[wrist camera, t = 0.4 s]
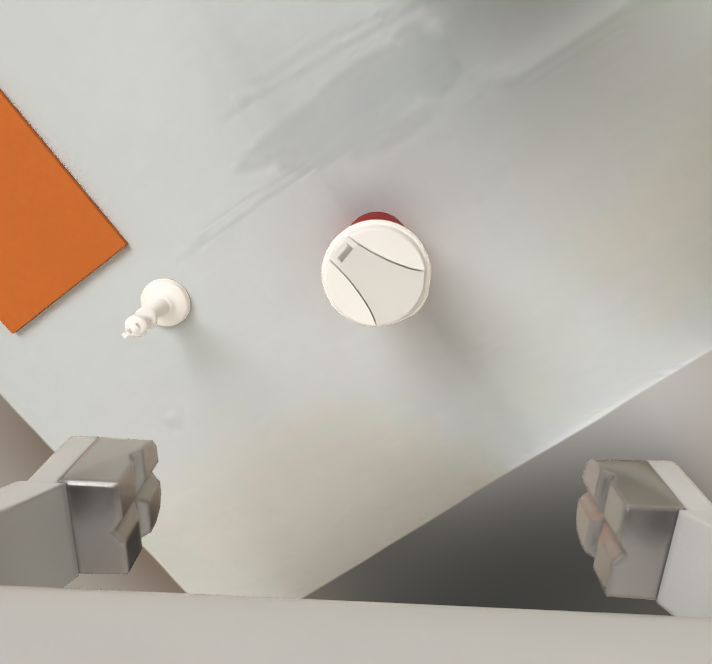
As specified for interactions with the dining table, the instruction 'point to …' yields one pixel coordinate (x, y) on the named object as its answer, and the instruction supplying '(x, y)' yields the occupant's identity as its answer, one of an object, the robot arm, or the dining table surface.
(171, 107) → the dining table surface
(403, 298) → the coffee cup
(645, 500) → the robot arm
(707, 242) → the dining table surface
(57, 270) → the cloth mat
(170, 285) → the chess piece
